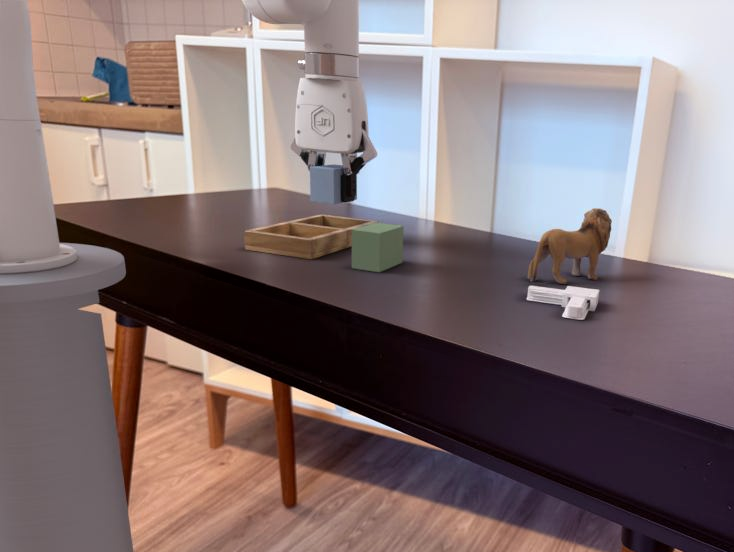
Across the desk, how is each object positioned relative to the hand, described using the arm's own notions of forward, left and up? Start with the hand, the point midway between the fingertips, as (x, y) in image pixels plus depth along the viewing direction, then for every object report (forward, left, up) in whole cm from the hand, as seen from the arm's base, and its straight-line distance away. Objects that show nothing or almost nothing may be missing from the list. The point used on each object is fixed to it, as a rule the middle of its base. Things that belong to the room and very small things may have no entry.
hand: (334, 198), depth 101 cm
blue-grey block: (0, 0, 0) cm, 0 cm away
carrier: (-5, 0, -6) cm, 8 cm away
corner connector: (-20, -40, -6) cm, 45 cm away
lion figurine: (-5, -38, -6) cm, 39 cm away
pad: (-13, -14, -6) cm, 20 cm away
